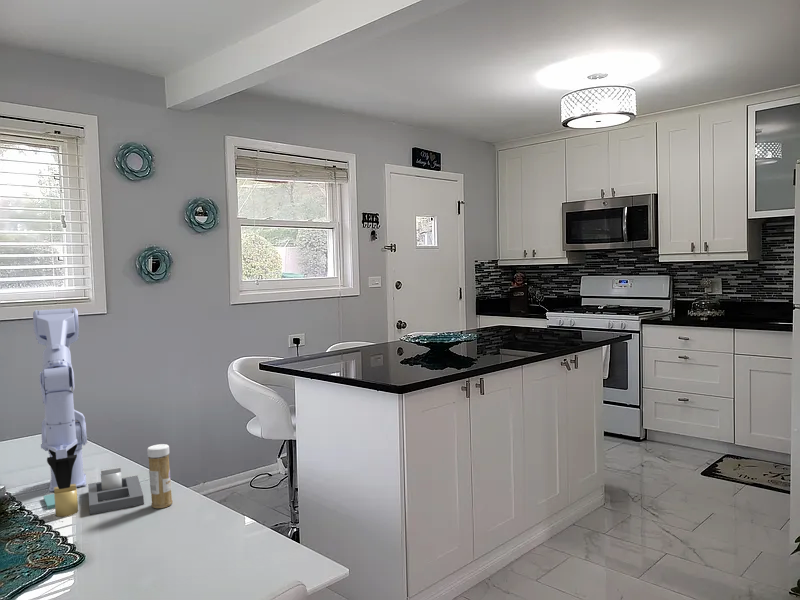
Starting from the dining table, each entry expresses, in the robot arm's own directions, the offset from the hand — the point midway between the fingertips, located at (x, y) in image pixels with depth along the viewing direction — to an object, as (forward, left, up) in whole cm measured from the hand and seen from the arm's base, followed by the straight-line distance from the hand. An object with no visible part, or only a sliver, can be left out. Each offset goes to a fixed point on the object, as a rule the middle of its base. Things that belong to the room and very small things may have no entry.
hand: (64, 482), depth 140 cm
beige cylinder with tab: (0, 0, -7) cm, 7 cm away
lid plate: (-9, -2, -7) cm, 11 cm away
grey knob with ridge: (-8, +10, -7) cm, 14 cm away
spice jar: (+7, +19, -7) cm, 21 cm away
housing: (-4, +10, -7) cm, 13 cm away
